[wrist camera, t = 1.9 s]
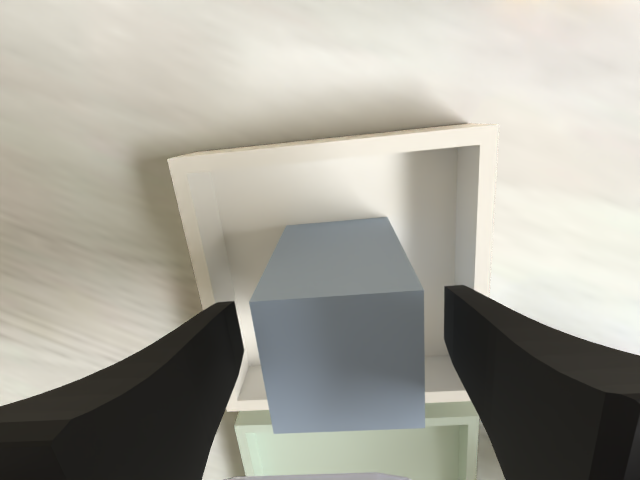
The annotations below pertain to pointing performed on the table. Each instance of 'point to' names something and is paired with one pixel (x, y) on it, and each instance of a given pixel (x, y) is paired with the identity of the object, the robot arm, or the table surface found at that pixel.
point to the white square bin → (338, 205)
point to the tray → (366, 447)
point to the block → (341, 330)
